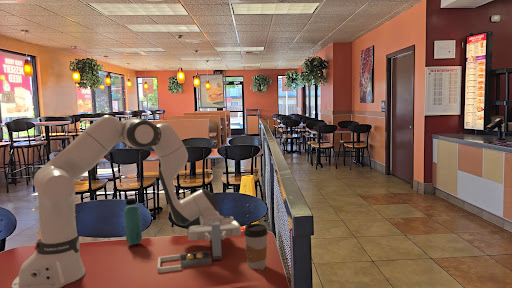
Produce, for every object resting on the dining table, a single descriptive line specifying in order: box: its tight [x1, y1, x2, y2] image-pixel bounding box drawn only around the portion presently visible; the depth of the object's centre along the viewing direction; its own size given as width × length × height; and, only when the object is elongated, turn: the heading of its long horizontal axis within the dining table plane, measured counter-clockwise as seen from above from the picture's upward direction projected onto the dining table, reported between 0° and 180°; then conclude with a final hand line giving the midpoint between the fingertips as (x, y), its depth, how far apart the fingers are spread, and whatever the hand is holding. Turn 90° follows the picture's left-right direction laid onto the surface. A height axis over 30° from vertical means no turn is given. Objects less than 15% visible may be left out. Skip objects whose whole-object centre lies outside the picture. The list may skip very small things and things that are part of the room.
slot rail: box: [179, 250, 213, 269], centre depth 143 cm, size 11×7×3 cm, turn 102°
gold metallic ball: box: [186, 254, 194, 260], centre depth 142 cm, size 3×3×3 cm
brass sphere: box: [196, 253, 204, 259], centre depth 143 cm, size 3×3×3 cm
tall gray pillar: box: [211, 222, 223, 261], centre depth 143 cm, size 3×4×13 cm
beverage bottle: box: [123, 197, 143, 245], centre depth 162 cm, size 6×7×20 cm
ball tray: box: [157, 253, 182, 274], centre depth 140 cm, size 8×10×2 cm
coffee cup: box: [243, 223, 268, 271], centre depth 138 cm, size 8×8×15 cm
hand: (216, 238), depth 142 cm, fingers closed on tall gray pillar, 3 cm apart
